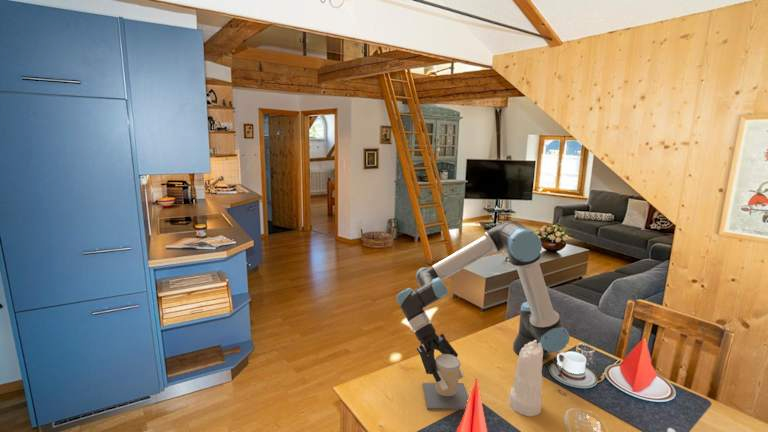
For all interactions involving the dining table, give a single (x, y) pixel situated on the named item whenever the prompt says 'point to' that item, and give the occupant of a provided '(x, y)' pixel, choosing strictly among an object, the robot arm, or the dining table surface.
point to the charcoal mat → (445, 398)
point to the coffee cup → (448, 373)
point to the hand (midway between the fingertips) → (453, 383)
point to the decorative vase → (528, 381)
